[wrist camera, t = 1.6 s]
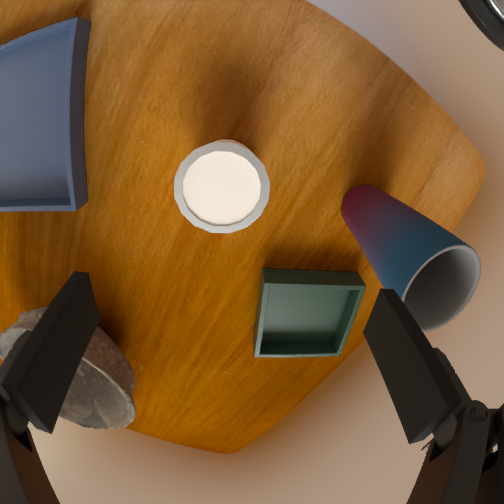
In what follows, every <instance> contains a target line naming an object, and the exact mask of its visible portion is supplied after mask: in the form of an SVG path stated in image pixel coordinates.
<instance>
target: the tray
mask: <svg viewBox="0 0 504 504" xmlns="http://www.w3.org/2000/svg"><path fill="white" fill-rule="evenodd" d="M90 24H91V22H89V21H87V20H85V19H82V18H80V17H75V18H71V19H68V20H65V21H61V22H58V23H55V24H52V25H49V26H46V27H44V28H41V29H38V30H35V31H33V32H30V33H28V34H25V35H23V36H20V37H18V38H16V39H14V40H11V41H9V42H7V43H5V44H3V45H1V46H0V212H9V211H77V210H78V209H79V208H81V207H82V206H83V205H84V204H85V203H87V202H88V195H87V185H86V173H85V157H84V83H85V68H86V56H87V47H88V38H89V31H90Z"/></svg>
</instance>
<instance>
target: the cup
mask: <svg viewBox="0 0 504 504" xmlns="http://www.w3.org/2000/svg"><path fill="white" fill-rule="evenodd" d="M341 212H342V217H343V219H344V221H345V223H346V224H347V226H348V227H349V229H350V231H351V232H352V234H353V235H354V237H355V239H356V240H357V242H358V244H359V245H360V247H361V249H362V250H363V252H364V254H365V255H366V257H367V259H368V260H369V262H370V264H371V266H372V267H373V269H374V271H375V273H376V274H377V276H378V278H379V280H380V282H381V283H382V285H383V287H384V289H394V290H395V291H396V292H397V294H398V295H399V297H400V298H401V300H402V301H403V303H404V304H405V306H406V307H407V309H408V310H409V312H410V313H411V315H412V316H413V318H414V319H415V321H416V322H417V324H418V325H419V327H420V328H421V330H422V331H423V332H428V331H432V330H435V329H437V328H440V327H442V326H443V325H445V324H447V323H448V322H449V321H451V320H452V319H454V318H455V317H456V316H457V315H458V314H459V313H460V312H461V311H462V310H463V309H464V308H465V307H466V305H467V304H468V303H469V301H470V300H471V298H472V296H473V294H474V292H475V290H476V288H477V285H478V282H479V279H480V273H481V264H480V259H479V257H478V254H477V252H476V251H475V250H474V249H473V248H472V247H470V246H469V245H467V244H466V243H465V242H463V241H462V240H460V239H459V238H457V237H456V236H455V235H453V234H452V233H450V232H449V231H447V230H446V229H444V228H443V227H441V226H440V225H438V224H436V223H435V222H433V221H432V220H430V219H429V218H427V217H425V216H424V215H422V214H421V213H419V212H417V211H416V210H414V209H412V208H411V207H409V206H407V205H406V204H404V203H402V202H401V201H399V200H397V199H395V198H394V197H392V196H390V195H388V194H387V193H385V192H383V191H381V190H380V189H378V188H376V187H374V186H372V185H359V186H357V187H355V188H353V189H352V190H350V191H349V192H348V193H347V195H346V196H345V198H344V200H343V203H342V209H341Z"/></svg>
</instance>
